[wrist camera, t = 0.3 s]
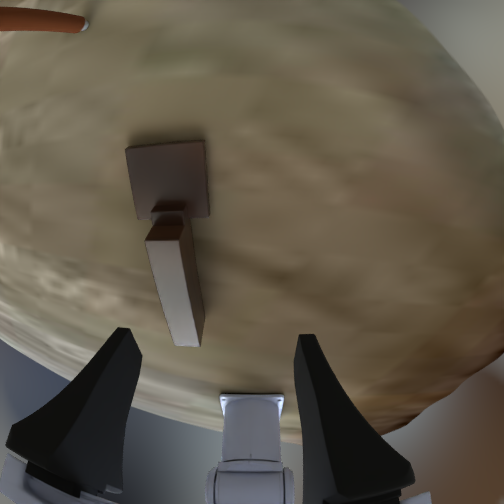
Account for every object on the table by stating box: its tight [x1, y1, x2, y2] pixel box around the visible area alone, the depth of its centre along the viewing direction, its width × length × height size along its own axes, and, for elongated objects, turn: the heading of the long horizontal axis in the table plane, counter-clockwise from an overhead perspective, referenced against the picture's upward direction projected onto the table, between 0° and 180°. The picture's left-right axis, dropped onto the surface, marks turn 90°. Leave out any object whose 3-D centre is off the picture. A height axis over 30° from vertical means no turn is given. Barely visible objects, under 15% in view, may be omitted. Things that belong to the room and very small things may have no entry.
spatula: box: [125, 140, 210, 347], centre depth 19 cm, size 15×5×3 cm, turn 0°
